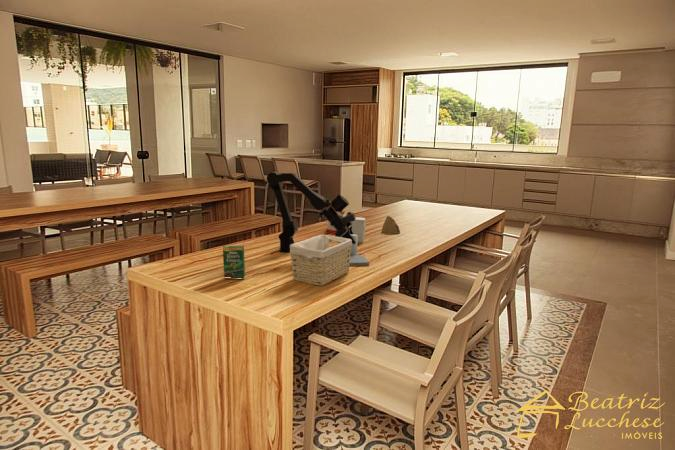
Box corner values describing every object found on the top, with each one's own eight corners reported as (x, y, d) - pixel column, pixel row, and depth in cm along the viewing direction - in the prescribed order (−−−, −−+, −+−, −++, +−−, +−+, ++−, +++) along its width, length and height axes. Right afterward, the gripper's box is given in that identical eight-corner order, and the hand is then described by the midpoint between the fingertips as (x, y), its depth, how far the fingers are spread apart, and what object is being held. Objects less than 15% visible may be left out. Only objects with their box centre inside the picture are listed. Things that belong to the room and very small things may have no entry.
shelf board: (338, 266, 192) (338, 262, 192) (333, 258, 204) (333, 255, 203) (368, 265, 194) (369, 262, 194) (362, 258, 206) (362, 255, 206)
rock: (404, 228, 264) (390, 224, 270) (402, 219, 258) (387, 214, 264) (395, 241, 259) (381, 236, 265) (392, 231, 253) (378, 227, 259)
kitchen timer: (336, 227, 273) (336, 203, 270) (354, 230, 265) (355, 206, 262) (322, 231, 262) (322, 206, 259) (341, 234, 254) (341, 209, 251)
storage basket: (321, 288, 164) (322, 250, 161) (287, 280, 172) (287, 244, 169) (352, 272, 184) (354, 238, 181) (320, 266, 192) (321, 233, 189)
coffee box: (223, 279, 170) (222, 246, 168) (224, 277, 173) (224, 245, 170) (243, 280, 170) (243, 247, 168) (245, 277, 173) (244, 245, 170)
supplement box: (363, 243, 235) (364, 220, 233) (349, 241, 237) (350, 219, 234) (365, 239, 243) (366, 217, 240) (351, 238, 244) (352, 216, 241)
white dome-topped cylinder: (348, 256, 208) (349, 236, 206) (346, 254, 212) (347, 234, 210) (357, 256, 208) (358, 236, 206) (355, 254, 213) (356, 234, 211)
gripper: (342, 210, 197) (365, 235, 197) (348, 204, 215) (370, 227, 216) (325, 226, 200) (348, 251, 200) (332, 219, 218) (353, 241, 218)
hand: (355, 242), depth 209 cm, fingers closed on white dome-topped cylinder, 4 cm apart
